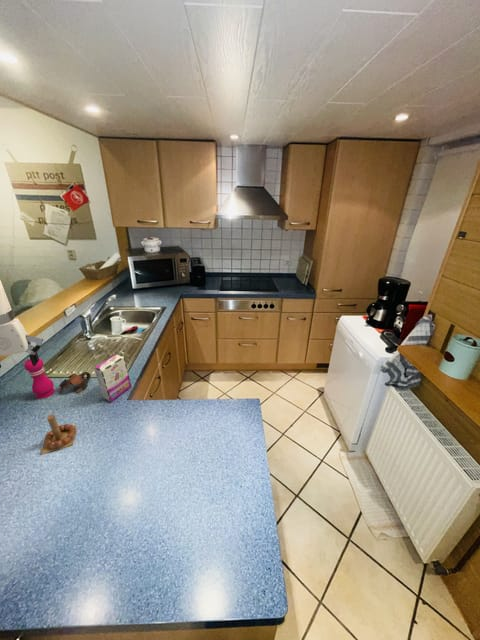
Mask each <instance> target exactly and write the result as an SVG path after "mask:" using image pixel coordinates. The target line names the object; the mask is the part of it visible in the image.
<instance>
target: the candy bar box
mask: <svg viewBox="0 0 480 640" xmlns="http://www.w3.org/2000/svg"><path fill="white" fill-rule="evenodd" d="M93 370H94V373H95V375H96V379H97V382H98V385H99V389H100V392H101V396H102V398H103V399H105V400H106V402H109V403H112V402H114V401H115V400H117V399H118V398H119V397H120V396H122V395H123V394H124V393H125V392H127V391H128V390H130V389H131V388H132V384H131V379H130V374H129V371H128V366H127V362H126V358H125V356H124V355H121V354H115V355H113V356H111V357H109V358H108V359H106V360H105V361H103V362H101V363H100V364H98V365H96V366H95V367H93Z"/></svg>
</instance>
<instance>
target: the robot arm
mask: <svg viewBox="0 0 480 640" xmlns="http://www.w3.org/2000/svg"><path fill="white" fill-rule="evenodd" d="M43 342H44V339H43V338H42V337H37V336H32V335H29V334H28V332H27V330H26V329H25V326H24V325H23V324H22V322H21V321H20V319H19V318H18V317H16V316H15V314H14V310H13V309H12V307H11V304H10V301H9V299H8V296H7V293H6V290H5V288H4V286H3V283H2V280H1V279H0V357H4V356H10V355H16V354H22V353H27V354H29V356H28V357H30V360H31V362H32V365H33V366H36V364H37V363H38V362H39V358H40V357H39V355H38V351H39V350H40V349H41V347H42V344H43ZM32 343H35V345H32ZM1 368H2V364H1V363H0V369H1Z"/></svg>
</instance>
